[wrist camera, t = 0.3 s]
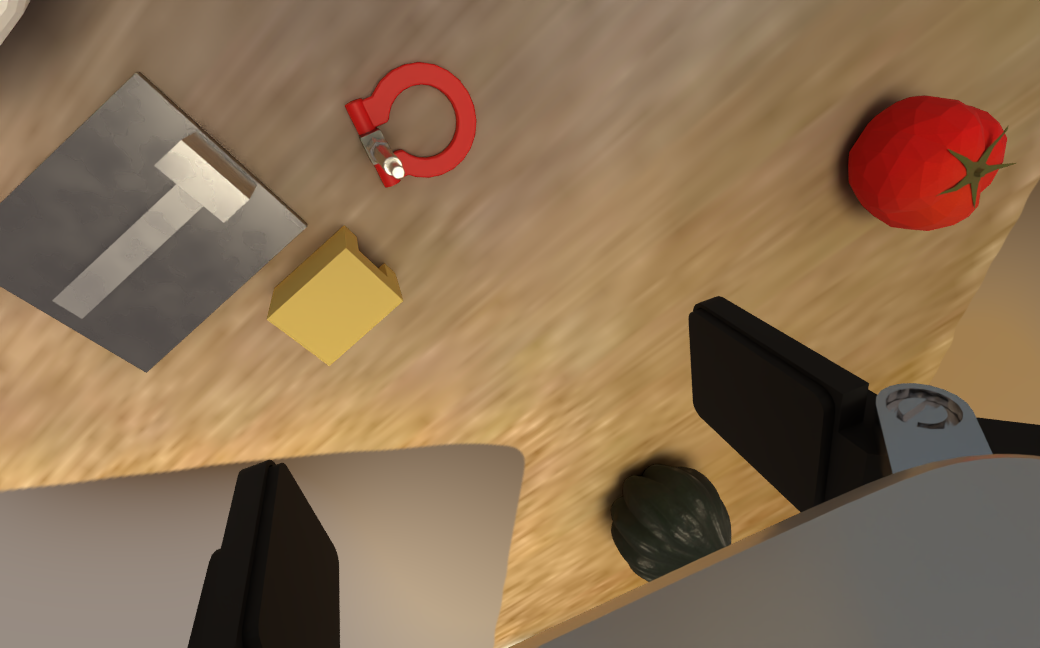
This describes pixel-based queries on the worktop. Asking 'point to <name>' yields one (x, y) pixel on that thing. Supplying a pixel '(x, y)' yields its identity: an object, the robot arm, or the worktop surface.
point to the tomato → (926, 162)
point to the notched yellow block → (334, 298)
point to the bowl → (10, 15)
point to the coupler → (138, 227)
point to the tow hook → (377, 113)
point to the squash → (668, 520)
